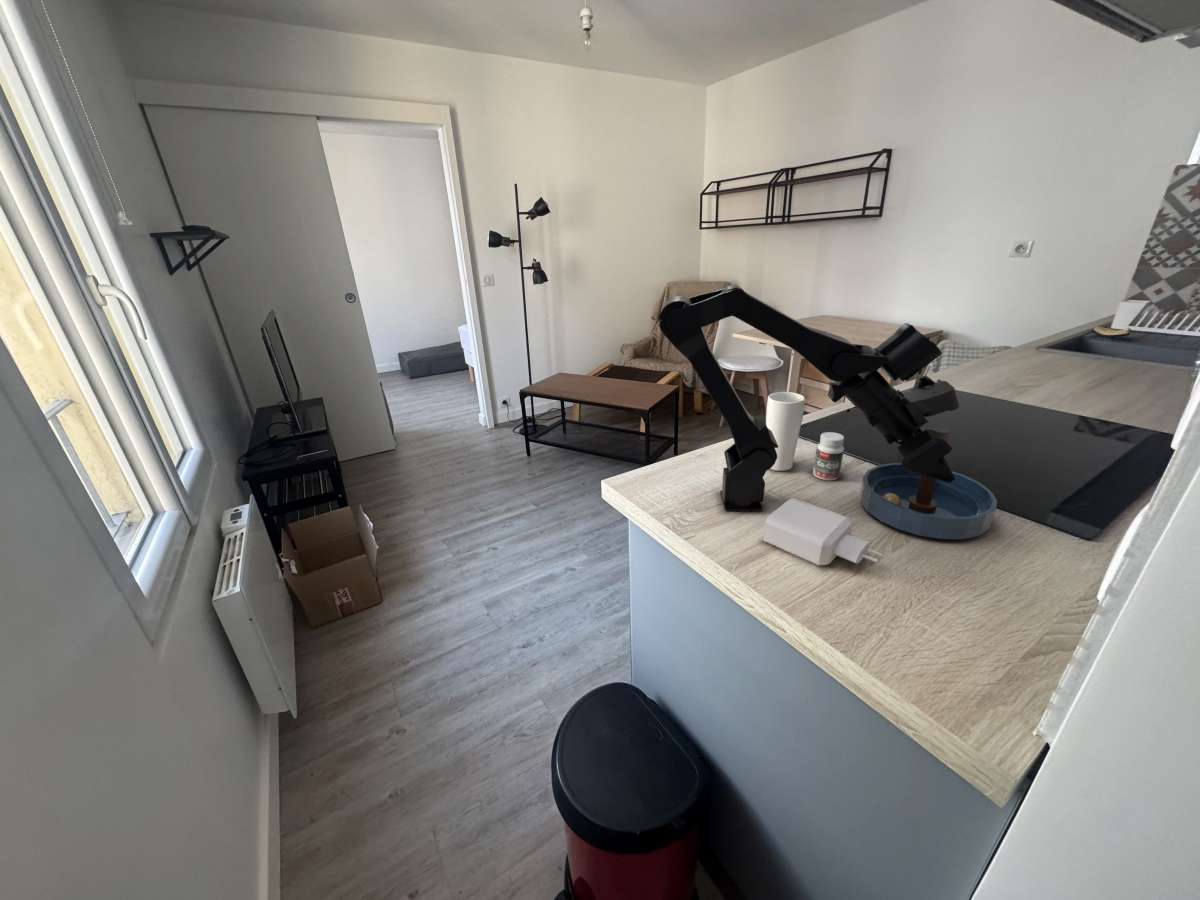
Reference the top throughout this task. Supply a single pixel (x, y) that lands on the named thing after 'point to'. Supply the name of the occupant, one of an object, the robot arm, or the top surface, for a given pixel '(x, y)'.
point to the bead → (892, 498)
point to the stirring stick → (926, 487)
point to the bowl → (958, 502)
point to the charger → (815, 534)
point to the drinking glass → (785, 425)
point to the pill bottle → (829, 456)
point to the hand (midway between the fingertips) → (941, 468)
